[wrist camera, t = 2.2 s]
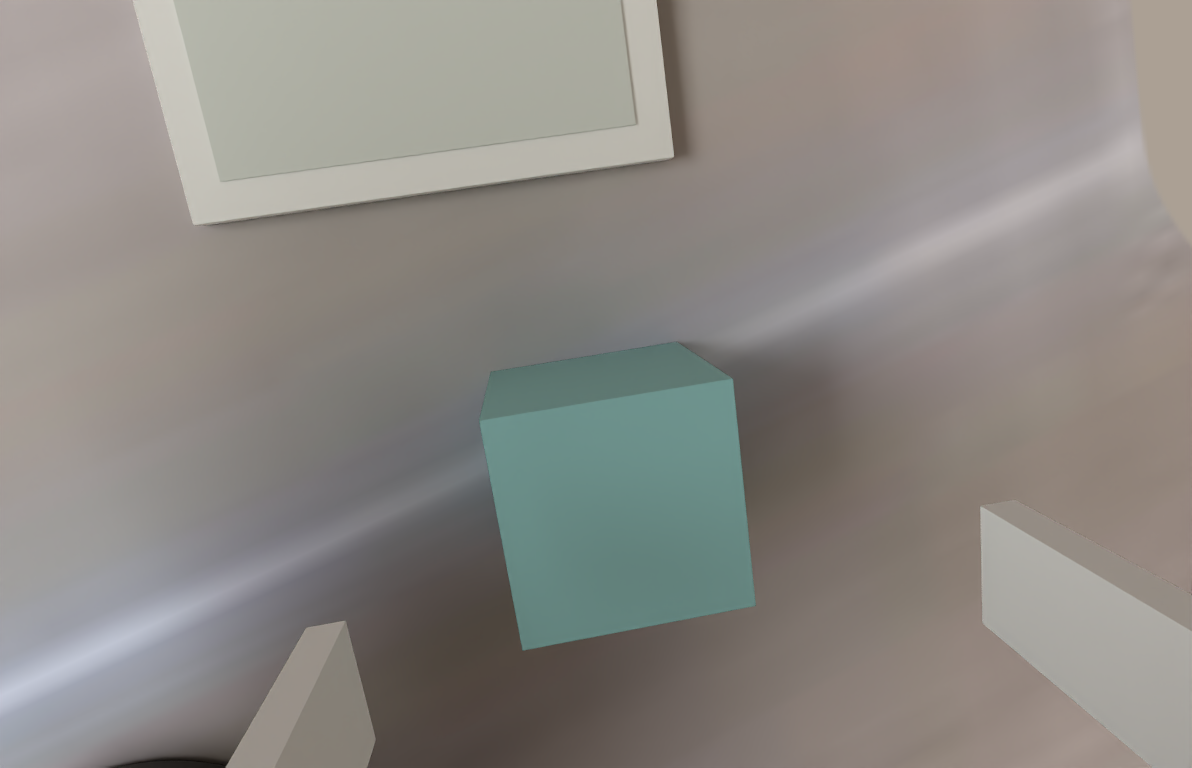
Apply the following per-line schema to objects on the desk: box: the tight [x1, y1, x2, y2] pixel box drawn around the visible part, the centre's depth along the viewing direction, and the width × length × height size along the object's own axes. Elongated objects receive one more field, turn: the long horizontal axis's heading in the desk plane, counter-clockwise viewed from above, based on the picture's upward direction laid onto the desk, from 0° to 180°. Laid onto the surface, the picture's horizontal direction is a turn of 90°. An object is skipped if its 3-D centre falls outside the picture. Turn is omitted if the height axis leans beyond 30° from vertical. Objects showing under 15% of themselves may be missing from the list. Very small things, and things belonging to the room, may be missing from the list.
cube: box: [479, 342, 756, 651], centre depth 22 cm, size 7×7×7 cm
